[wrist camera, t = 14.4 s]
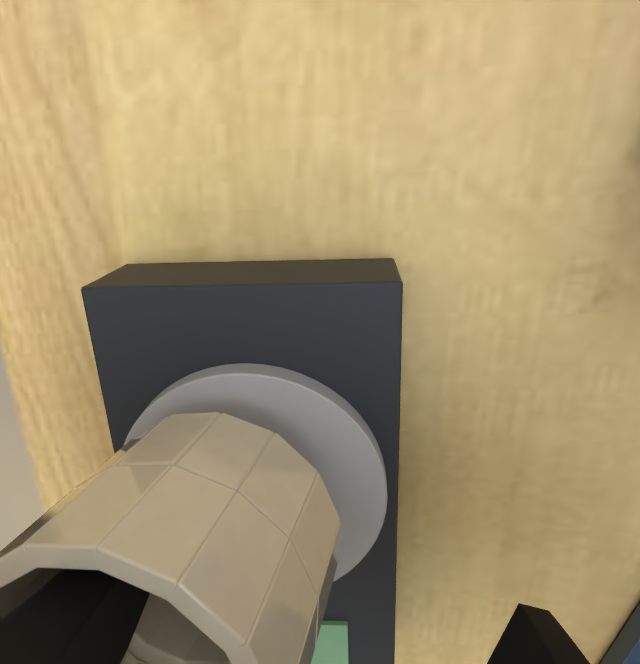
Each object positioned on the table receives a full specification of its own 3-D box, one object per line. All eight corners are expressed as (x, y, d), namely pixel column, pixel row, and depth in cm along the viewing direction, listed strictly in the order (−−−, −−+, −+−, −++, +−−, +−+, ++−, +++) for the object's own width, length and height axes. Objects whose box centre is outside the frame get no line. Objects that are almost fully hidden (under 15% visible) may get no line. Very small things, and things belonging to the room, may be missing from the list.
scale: (388, 633, 17) (395, 729, 14) (187, 627, 18) (156, 718, 15) (394, 258, 13) (405, 289, 10) (125, 263, 13) (64, 295, 10)
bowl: (311, 629, 12) (241, 870, 8) (116, 545, 13) (-44, 727, 9) (377, 454, 10) (330, 649, 6) (145, 366, 11) (-41, 488, 7)
